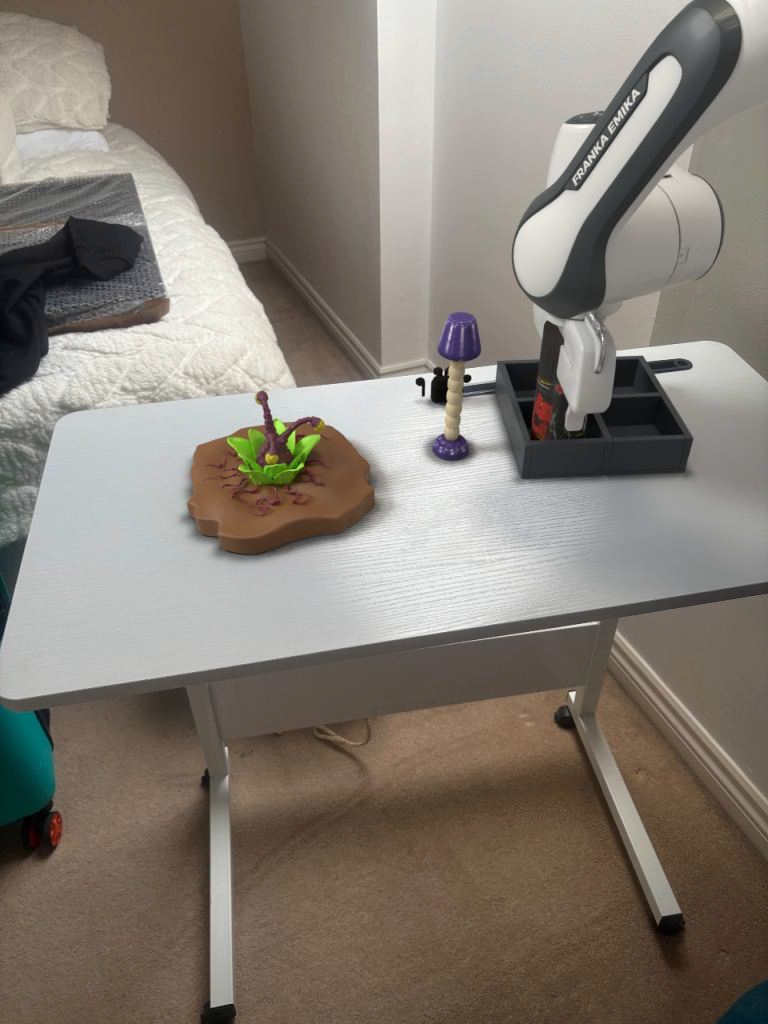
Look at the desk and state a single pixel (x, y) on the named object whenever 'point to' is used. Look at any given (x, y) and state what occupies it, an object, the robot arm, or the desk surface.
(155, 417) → the desk surface
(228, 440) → the plant
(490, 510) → the desk surface
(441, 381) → the wireless earbuds
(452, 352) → the toy lamp
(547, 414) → the deodorant
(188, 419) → the desk surface
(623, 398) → the compartment tray
